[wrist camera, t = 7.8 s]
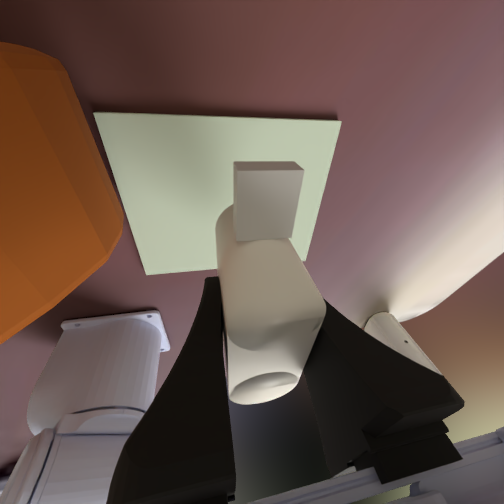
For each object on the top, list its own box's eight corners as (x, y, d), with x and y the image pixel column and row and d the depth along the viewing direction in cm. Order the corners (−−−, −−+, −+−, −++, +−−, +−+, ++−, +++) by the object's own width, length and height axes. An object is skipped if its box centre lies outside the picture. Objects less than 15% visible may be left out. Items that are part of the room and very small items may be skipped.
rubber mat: (147, 271, 21) (146, 274, 21) (96, 111, 13) (93, 112, 13) (303, 257, 24) (305, 260, 24) (338, 120, 16) (341, 121, 16)
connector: (219, 313, 15) (229, 409, 11) (210, 143, 9) (223, 210, 4) (265, 308, 16) (292, 396, 11) (288, 144, 9) (370, 204, 5)
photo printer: (367, 314, 34) (433, 404, 25) (393, 308, 35) (466, 395, 25) (353, 347, 41) (401, 429, 31) (374, 342, 41) (428, 422, 32)
